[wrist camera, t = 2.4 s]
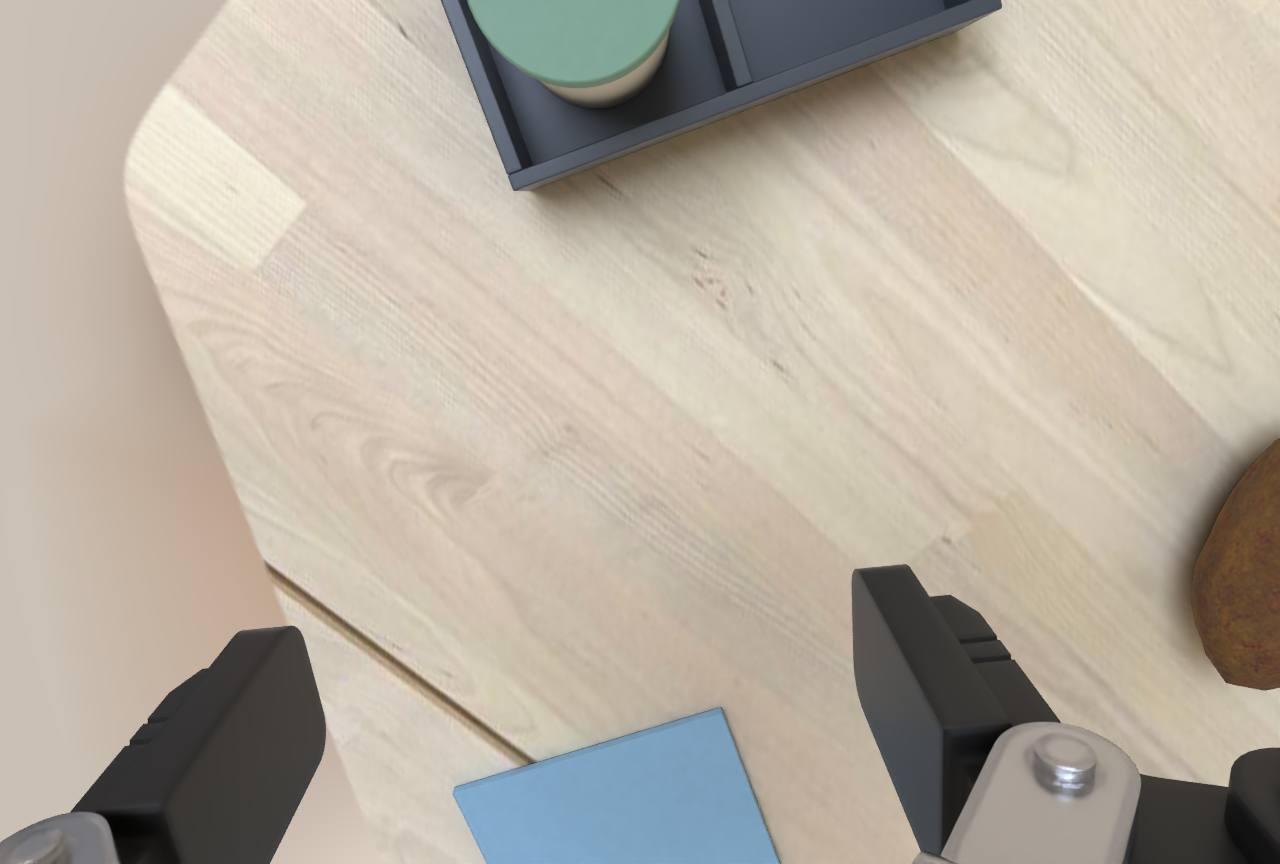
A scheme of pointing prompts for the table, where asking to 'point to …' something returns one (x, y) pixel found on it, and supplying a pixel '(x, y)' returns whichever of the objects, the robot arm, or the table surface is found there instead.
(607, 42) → the container
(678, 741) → the mat
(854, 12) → the divided tray
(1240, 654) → the potato
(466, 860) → the table surface
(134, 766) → the robot arm
